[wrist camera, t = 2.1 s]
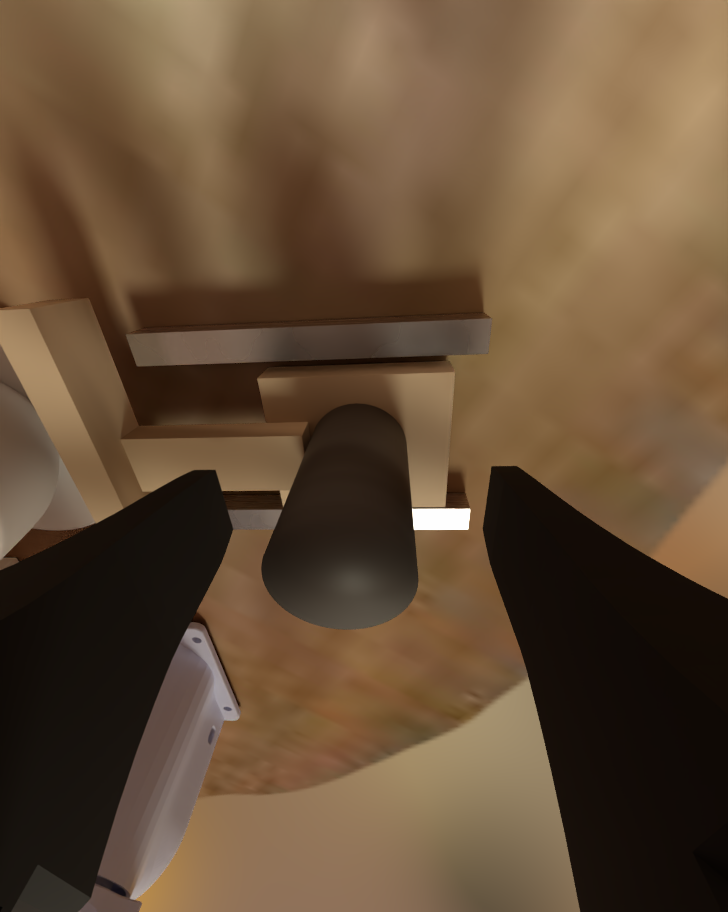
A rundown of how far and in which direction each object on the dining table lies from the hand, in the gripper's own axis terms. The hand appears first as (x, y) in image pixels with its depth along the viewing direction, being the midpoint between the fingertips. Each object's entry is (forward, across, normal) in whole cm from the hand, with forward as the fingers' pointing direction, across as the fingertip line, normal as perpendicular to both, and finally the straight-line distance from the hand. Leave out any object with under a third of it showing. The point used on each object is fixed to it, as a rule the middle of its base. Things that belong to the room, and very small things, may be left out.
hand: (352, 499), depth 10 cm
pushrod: (+4, +3, 0) cm, 5 cm away
